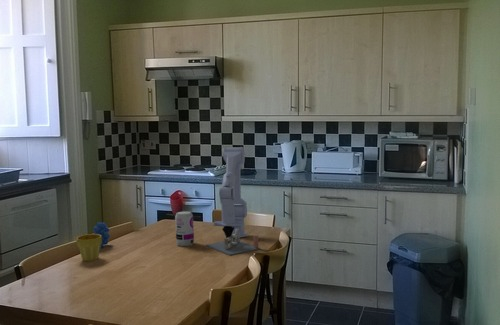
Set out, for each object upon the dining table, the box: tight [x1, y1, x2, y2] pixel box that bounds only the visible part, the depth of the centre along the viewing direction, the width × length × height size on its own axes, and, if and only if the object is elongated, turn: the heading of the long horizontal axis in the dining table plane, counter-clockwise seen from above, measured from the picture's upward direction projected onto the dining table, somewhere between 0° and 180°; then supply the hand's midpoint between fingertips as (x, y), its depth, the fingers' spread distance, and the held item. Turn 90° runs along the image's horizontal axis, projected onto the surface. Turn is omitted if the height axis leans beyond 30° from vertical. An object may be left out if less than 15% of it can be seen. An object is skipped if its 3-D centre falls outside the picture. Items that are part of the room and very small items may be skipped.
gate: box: [223, 233, 237, 249], centre depth 234 cm, size 11×1×4 cm, turn 157°
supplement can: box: [174, 210, 195, 247], centre depth 243 cm, size 8×8×15 cm
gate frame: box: [205, 229, 261, 256], centre depth 235 cm, size 21×16×7 cm
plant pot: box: [75, 233, 102, 262], centre depth 224 cm, size 10×10×10 cm
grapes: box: [92, 221, 111, 248], centre depth 243 cm, size 12×7×12 cm, turn 160°
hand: (229, 242), depth 235 cm, fingers closed
